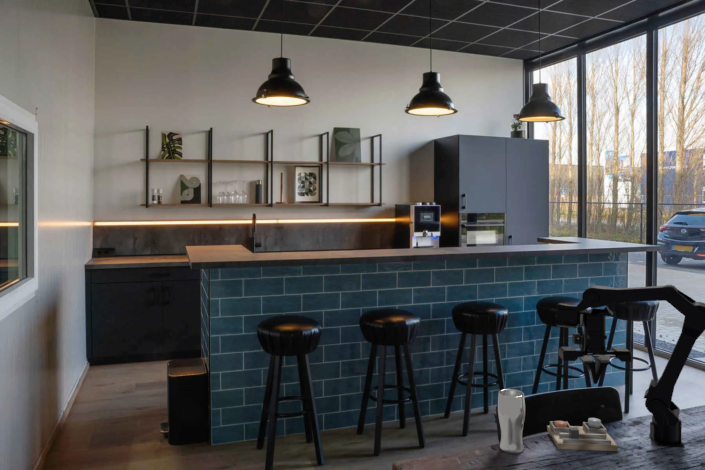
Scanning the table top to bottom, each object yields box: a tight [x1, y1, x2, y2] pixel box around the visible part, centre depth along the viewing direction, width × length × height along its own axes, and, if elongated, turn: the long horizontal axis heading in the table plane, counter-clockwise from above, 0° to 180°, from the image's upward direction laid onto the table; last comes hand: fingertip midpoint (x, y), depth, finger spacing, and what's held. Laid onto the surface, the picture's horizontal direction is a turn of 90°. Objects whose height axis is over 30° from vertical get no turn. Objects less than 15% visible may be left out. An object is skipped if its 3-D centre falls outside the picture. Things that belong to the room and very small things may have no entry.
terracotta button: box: [554, 420, 567, 428], centre depth 150 cm, size 3×3×2 cm
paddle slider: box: [569, 427, 579, 439], centre depth 143 cm, size 2×2×3 cm
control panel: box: [546, 420, 619, 452], centre depth 147 cm, size 15×12×3 cm
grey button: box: [587, 417, 602, 428], centre depth 149 cm, size 3×3×2 cm
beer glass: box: [497, 388, 526, 454], centre depth 142 cm, size 7×7×15 cm
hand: (594, 383), depth 154 cm, fingers closed
